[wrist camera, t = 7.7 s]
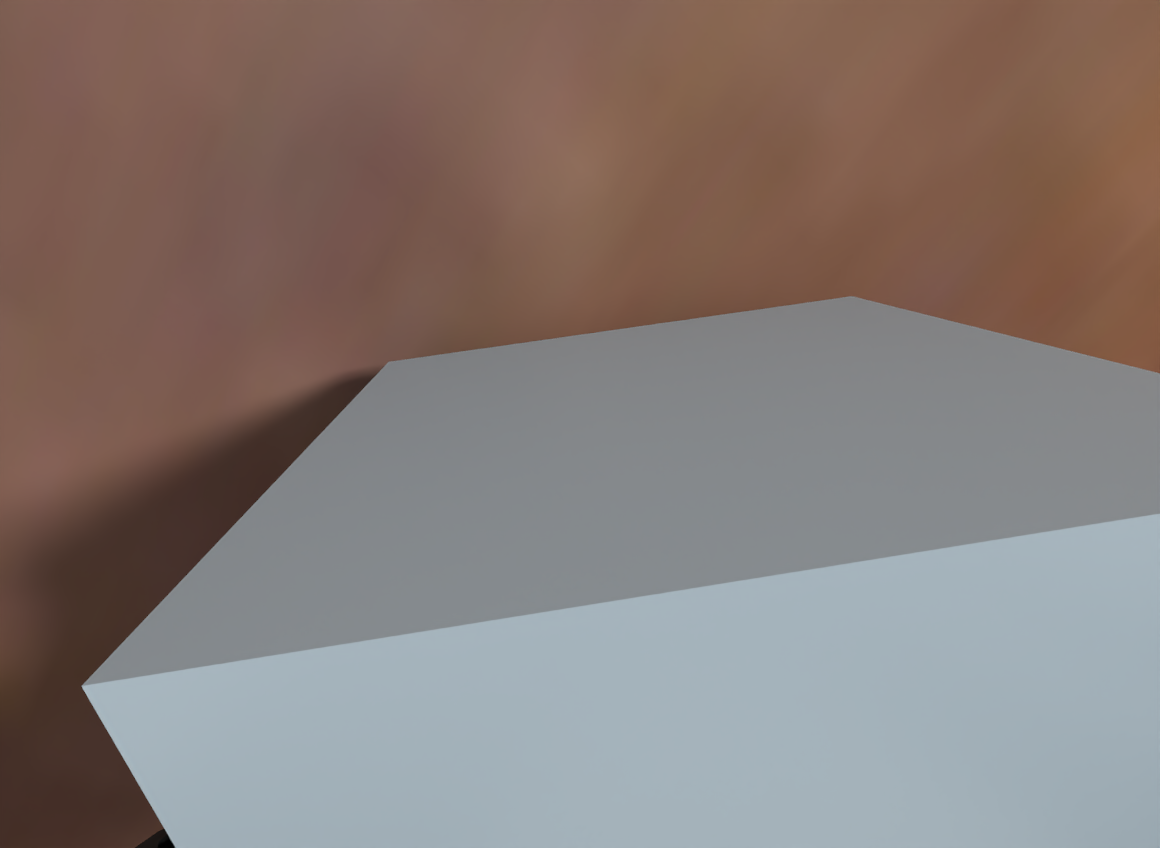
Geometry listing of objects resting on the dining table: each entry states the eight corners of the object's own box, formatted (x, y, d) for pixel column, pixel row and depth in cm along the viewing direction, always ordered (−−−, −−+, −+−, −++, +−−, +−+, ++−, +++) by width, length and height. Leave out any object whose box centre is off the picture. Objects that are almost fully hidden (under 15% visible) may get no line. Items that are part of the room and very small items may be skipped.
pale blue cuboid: (834, 656, 16) (1158, 1123, 8) (478, 715, 16) (423, 1272, 7) (851, 295, 12) (1501, 459, 4) (388, 362, 12) (82, 684, 4)
